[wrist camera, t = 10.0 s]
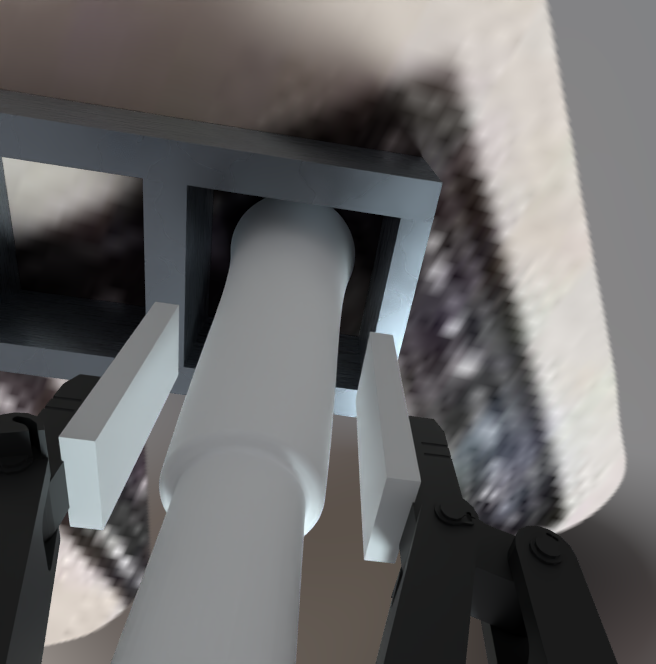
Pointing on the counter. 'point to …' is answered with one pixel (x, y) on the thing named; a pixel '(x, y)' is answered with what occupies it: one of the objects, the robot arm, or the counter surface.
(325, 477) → the cosmetic bottle
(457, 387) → the counter surface
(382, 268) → the square-hole rail
